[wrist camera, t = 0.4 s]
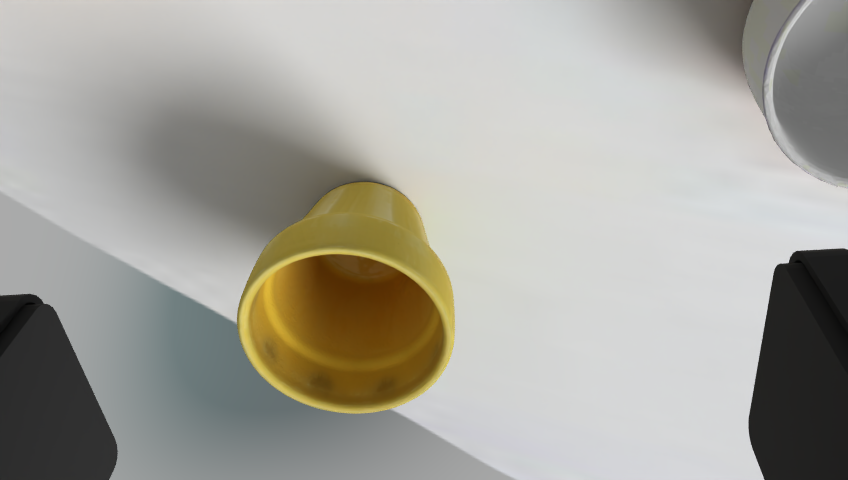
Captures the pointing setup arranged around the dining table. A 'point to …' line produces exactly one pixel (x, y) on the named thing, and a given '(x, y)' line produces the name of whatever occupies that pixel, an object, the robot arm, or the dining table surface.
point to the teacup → (802, 80)
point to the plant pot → (350, 304)
